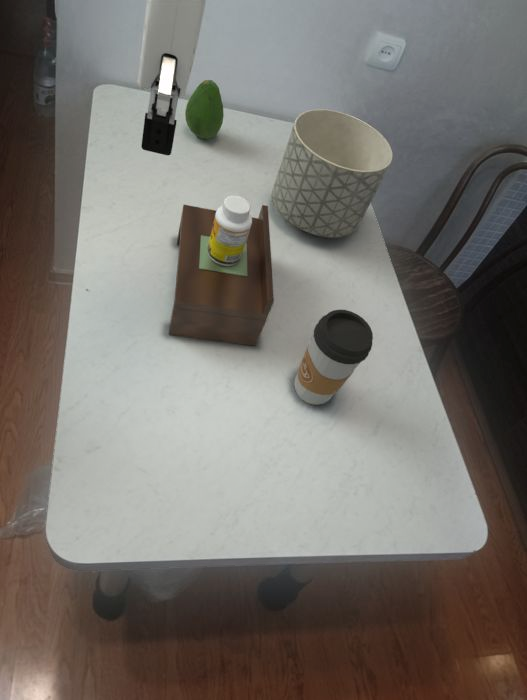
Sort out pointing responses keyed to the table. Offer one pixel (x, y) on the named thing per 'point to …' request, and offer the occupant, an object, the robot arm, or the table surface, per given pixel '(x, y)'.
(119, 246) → the table surface
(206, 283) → the shelf
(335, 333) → the coffee cup
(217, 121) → the fruit
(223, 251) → the supplement bottle
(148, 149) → the robot arm
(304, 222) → the planter
